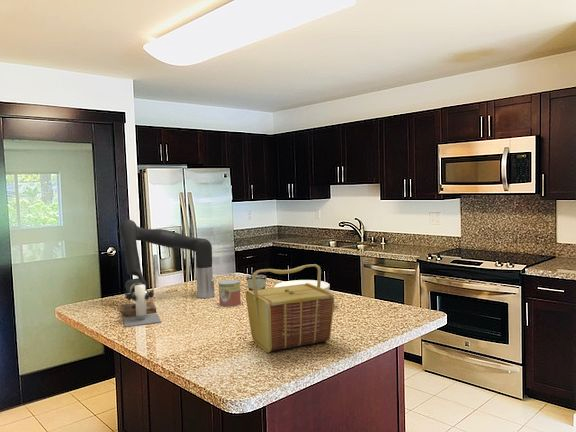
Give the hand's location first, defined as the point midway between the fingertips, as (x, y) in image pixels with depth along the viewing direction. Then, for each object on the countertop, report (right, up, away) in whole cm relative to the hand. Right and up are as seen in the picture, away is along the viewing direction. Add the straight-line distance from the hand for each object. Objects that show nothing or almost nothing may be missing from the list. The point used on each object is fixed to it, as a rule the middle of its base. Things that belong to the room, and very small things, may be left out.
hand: (141, 298), depth 222 cm
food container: (+51, -7, +57) cm, 77 cm away
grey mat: (0, -11, +3) cm, 12 cm away
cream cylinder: (-1, -8, +3) cm, 9 cm away
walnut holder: (-8, -10, +22) cm, 25 cm away
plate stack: (+76, -8, +19) cm, 79 cm away
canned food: (+38, -9, +30) cm, 49 cm away
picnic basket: (+70, -11, -36) cm, 79 cm away
